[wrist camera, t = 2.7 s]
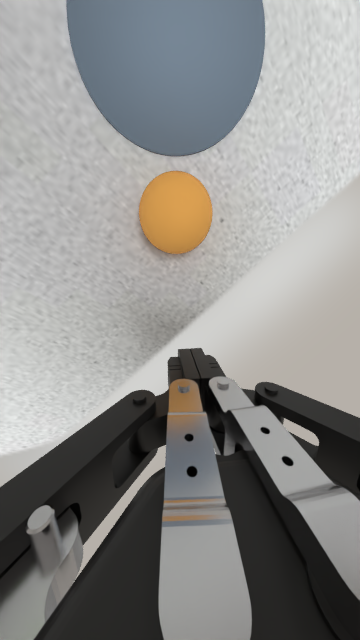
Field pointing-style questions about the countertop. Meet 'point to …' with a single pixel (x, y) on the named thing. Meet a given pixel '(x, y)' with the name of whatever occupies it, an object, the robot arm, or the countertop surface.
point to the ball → (175, 212)
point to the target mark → (169, 66)
